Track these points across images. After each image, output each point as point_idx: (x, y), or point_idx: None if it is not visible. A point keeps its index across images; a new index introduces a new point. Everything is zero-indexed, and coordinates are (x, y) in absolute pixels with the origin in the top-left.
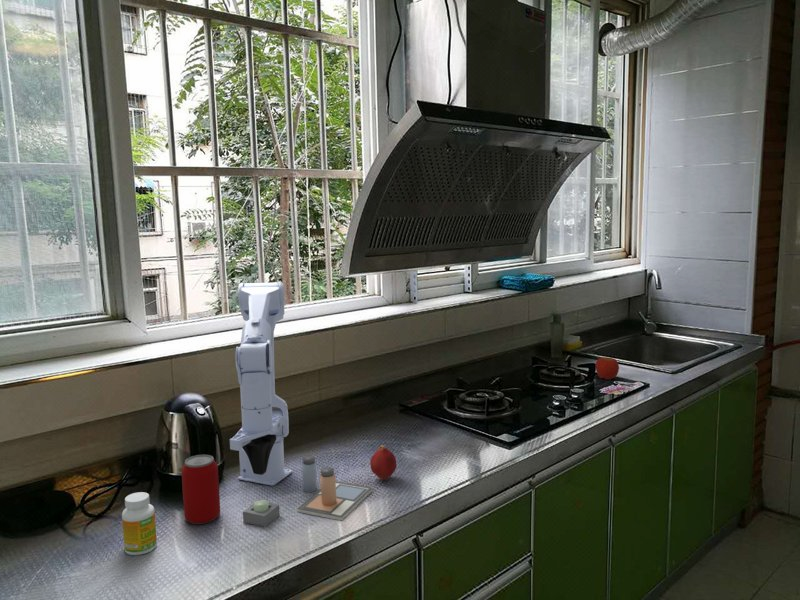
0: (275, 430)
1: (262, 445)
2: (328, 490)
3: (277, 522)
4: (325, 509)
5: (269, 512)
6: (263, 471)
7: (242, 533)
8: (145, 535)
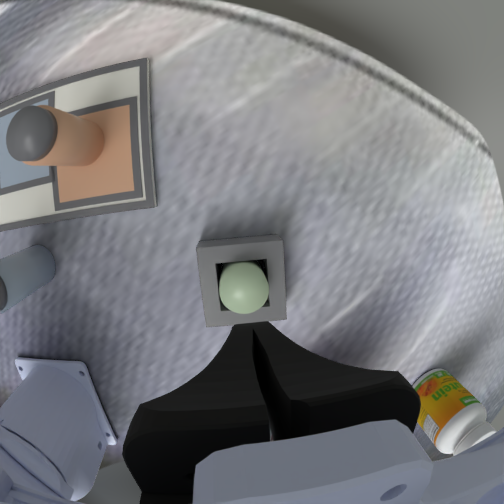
0: (319, 476)
1: (407, 386)
2: (80, 121)
3: (238, 218)
4: (123, 124)
5: (255, 242)
6: (263, 324)
7: (329, 266)
8: (459, 385)
